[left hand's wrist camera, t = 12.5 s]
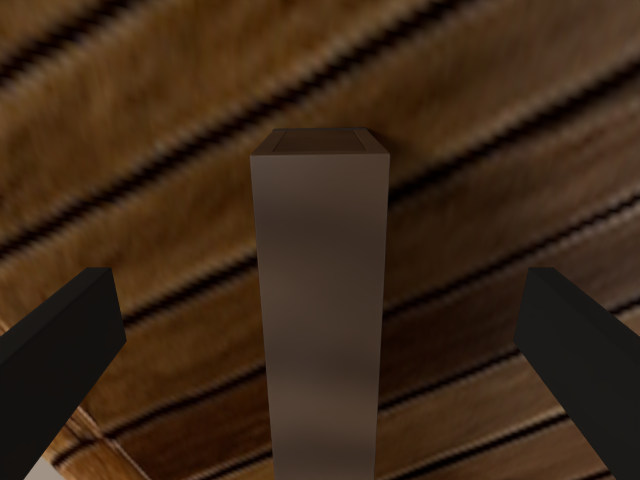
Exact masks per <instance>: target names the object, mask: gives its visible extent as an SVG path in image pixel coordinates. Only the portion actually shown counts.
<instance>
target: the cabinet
mask: <svg viewBox="0 0 640 480" xmlns="http://www.w3.org/2000/svg"><path fill="white" fill-rule="evenodd" d="M250 167H251V180H252V193H253V206H254V219H255V232H256V244H257V257H258V270H259V283H260V296H261V309H262V321H263V334H264V347H265V360H266V373H267V386H268V399H269V411H270V424H271V437H272V450H273V463H274V476H275V480H374V468H375V448H376V428H377V408H378V389H379V369H380V349H381V329H382V309H383V289H384V269H385V249H386V229H387V209H388V189H389V169H390V153H389V152H388V151H387V150H386V149H385V148H384V147H383V146H382V145H381V144H380V143H379V142H378V141H377V140H376V139H375V138H374V137H373V136H372V135H371V134H370V133H369V132H368V130H367V129H366V128H305V129H273V131H272V133H271V134H270V135H269V136H268V137H267V138H266V139H265V140H264V141H263V142H262V143H261V144H260V145H259V147H258V148H257V149H256V150H255V151H254V152H253V153H252V154H251V155H250Z"/></svg>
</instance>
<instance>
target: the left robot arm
mask: <svg viewBox="0 0 640 480" xmlns="http://www.w3.org/2000/svg"><path fill="white" fill-rule="evenodd" d="M126 341H127V340H126V335H125V331H124V326H123V321H122V316H121V312H120V307H119V302H118V297H117V293H116V288H115V283H114V278H113V274H112V269H111V268H86V269H84V270H83V271H82V272H81V273H79V274H78V275H77V276H76V277H74V278H73V279H72V280H71V281H69V282H68V283H67V284H66V285H64V286H63V287H62V288H61V289H59V290H58V291H57V292H56V293H54V294H53V295H52V296H51V297H49V298H48V299H47V300H46V301H44V302H43V303H42V304H41V305H39V306H38V307H37V308H36V309H34V310H33V311H32V312H31V313H29V314H28V315H27V316H26V317H24V318H23V319H22V320H21V321H19V322H18V323H17V324H16V325H14V326H13V327H12V328H11V329H9V330H8V331H7V332H6V333H4V334H3V335H2V336H1V337H0V480H24V478H25V477H26V476H27V474H28V473H29V472H30V470H31V469H32V468H33V466H34V465H35V464H36V462H37V461H38V460H39V458H40V457H41V456H42V454H43V453H44V451H45V450H46V449H47V447H48V446H49V445H50V443H51V442H52V441H53V439H54V438H55V437H56V435H57V434H58V433H59V431H60V430H61V429H62V427H63V426H64V425H65V423H66V422H67V421H68V419H69V418H70V417H71V415H72V414H73V413H74V411H75V410H76V409H77V407H78V406H79V404H80V403H81V402H82V400H83V399H84V398H85V396H86V395H87V394H88V392H89V391H90V390H91V388H92V387H93V386H94V384H95V383H96V382H97V380H98V379H99V378H100V376H101V375H102V374H103V372H104V371H105V370H106V368H107V367H108V366H109V364H110V363H111V361H112V360H113V359H114V357H115V356H116V355H117V353H118V352H119V351H120V349H121V348H122V347H123V345H124V344H125V343H126ZM513 341H514V343H515V344H516V345H517V347H518V348H519V349H520V351H521V352H522V353H523V355H524V356H525V357H526V359H527V360H528V361H529V363H530V364H531V366H532V367H533V368H534V370H535V371H536V372H537V374H538V375H539V376H540V378H541V379H542V380H543V382H544V383H545V384H546V386H547V387H548V388H549V390H550V391H551V392H552V394H553V395H554V396H555V398H556V399H557V400H558V402H559V403H560V404H561V406H562V407H563V409H564V410H565V411H566V413H567V414H568V415H569V417H570V418H571V419H572V421H573V422H574V423H575V425H576V426H577V427H578V429H579V430H580V431H581V433H582V434H583V435H584V437H585V438H586V439H587V441H588V442H589V443H590V445H591V446H592V447H593V449H594V450H595V451H596V453H597V454H598V456H599V457H600V458H601V460H602V461H603V462H604V464H605V465H606V466H607V468H608V469H609V470H610V472H611V473H612V474H613V476H614V477H615V478H616V480H640V337H639V336H638V335H637V334H636V333H634V332H633V331H632V330H631V329H629V328H628V327H627V326H626V325H624V324H623V323H622V322H621V321H619V320H618V319H617V318H616V317H614V316H613V315H612V314H611V313H609V312H608V311H607V310H606V309H604V308H603V307H602V306H601V305H599V304H598V303H597V302H596V301H594V300H593V299H592V298H591V297H589V296H588V295H587V294H586V293H584V292H583V291H582V290H581V289H579V288H578V287H577V286H576V285H574V284H573V283H572V282H571V281H569V280H568V279H567V278H566V277H564V276H563V275H562V274H561V273H559V272H558V271H557V270H556V269H554V268H529V269H528V274H527V278H526V283H525V288H524V293H523V297H522V302H521V307H520V312H519V316H518V321H517V326H516V331H515V335H514V340H513Z"/></svg>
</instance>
